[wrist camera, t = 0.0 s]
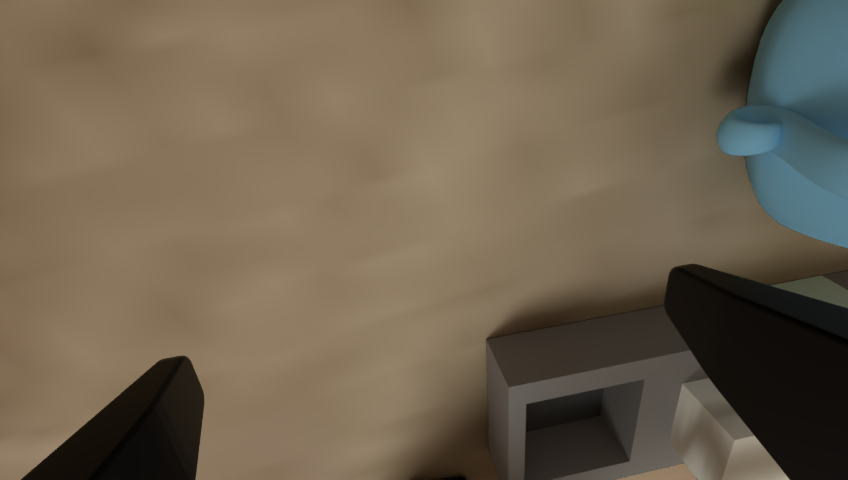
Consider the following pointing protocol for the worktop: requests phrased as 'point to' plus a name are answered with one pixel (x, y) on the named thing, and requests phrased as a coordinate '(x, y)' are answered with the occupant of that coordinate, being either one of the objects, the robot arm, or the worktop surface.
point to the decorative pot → (798, 119)
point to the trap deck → (598, 392)
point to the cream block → (717, 438)
